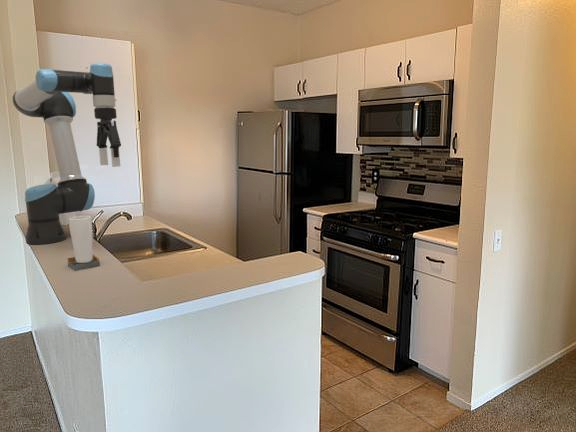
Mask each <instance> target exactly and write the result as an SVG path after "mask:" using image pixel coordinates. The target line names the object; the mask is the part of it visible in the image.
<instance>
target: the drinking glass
mask: <svg viewBox="0 0 576 432" xmlns="http://www.w3.org/2000/svg"><path fill="white" fill-rule="evenodd" d="M76 216H77V217H71V218H69V225H68V227H69V233H70V238H71V243H72V247H73V248H72V249H73V252H74V253H73V254H74V257H75V260H76V262H77V263H88V262H91V261H92V260H93V255H94V253H93V224H92V217H91V216H90V215H79V216H78V215H76Z"/></svg>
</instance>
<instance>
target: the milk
mask: <svg viewBox="0 0 576 432" xmlns="http://www.w3.org/2000/svg"><path fill="white" fill-rule="evenodd" d="M49 173H50V174H49V179H47V181H46V182H45V183H44V184H55V185H56V187H58V182H59V181H60V175H59V171H52V172H49ZM77 216H78V215H77V212H70V213H62V214H59V219H60V223H61V225H66V226H68V225H67V224H69V218H71V217H77Z"/></svg>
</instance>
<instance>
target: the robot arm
mask: <svg viewBox="0 0 576 432" xmlns="http://www.w3.org/2000/svg"><path fill="white" fill-rule="evenodd" d="M114 80H115V79H114V74H113V67H112V65H111V64H109V63H101V62H99V63H98V62H97V63H91V64H90V66H89V72H85V71H74V70H71V71H70V70H61V69H51V68H45V69H43V68H40V69H38V70H37V72H36V74H35V81H33V82H32V83H30V84H28V85H27V86H23V87H20V88H18V89H17V90H16V91H15V92H14V93H13V95H12V104H13V106H14V108H15V109H16V110H17V111H18V112H19V113H21V114H23V115H24V116H27V117H31V118H43V123H44V124H45V125H46V126H48V127H49V128H48V129H49V132H50V136H51V142H52V146H53V150H54V155H55V161H56V165H57V169H58V172H59V175H60V181H59V182H58V187H56V185H55V184H45V183H44V184H39V185H35V186H31V187H29V188H27V189H26V190H25V191H24V196H25V197H24V199H25V200H24V201H25V206H26V213H27V215H26V216H27V222H28V225H27V228H26V229H27V230H26V233H25V234H26V235H25V244H28V245H48V244H53V243H58V242H62V241H64V240H66V239H67V233H66V231H65V229H64V226H62V225H61V223H60V219H59V214H62V213H70V212H76V213H77V212H83V211H89V210H90V209H92V208H93V206H94V204H95V203H94V202H95V197H96V195H95V188H94V186H93V185H92V184H91V183H88V182H87V181H88V180H87V179H86V178H85V177H84V176H83V175H82V171H81V167H80V161H79V157H78V153H77V148H76V144H75V140H74V135H73V130H72V126H71V123H72V122H73V121H74V117H75V116H76V115H77V106H76V102H75V100H74V97H73V96H72V95H71V94H70V93H77V94H79V93H81V94H84V95H92V102H93V103H92V104H93V107H94V109H93V112H94V118H95V119H96V120H100V121H97V123H96V125H97V129H96V130H97V133H96V143H95V144H96V147H98V151H99V152H98V153H99V162H100V166H109V156H108V149H107V148H108V145H107V141H109V145H110V146H109V149H110V157H111V166H112V168H114V167H121V160H120V159H121V157H120V147H121V146H122V143H121V139H120V135H119V132H118V127H117V121H116V119H117V109H116V108H115V107H116V102H117V99H116V95H115V85H114V84H115V82H114ZM113 119H114V120H113Z"/></svg>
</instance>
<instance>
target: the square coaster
mask: <svg viewBox="0 0 576 432" xmlns="http://www.w3.org/2000/svg"><path fill="white" fill-rule="evenodd" d="M66 260H67V265H68V267H69V268H71V269H72V270H73V271H79V270H84V269H89V268H95V267H100V266H101V263H100V257H98V256H96V255H95V254H93V260H92V261H91V262H88V263H77V262H76V260H75V256H73V257H67V259H66Z"/></svg>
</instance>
